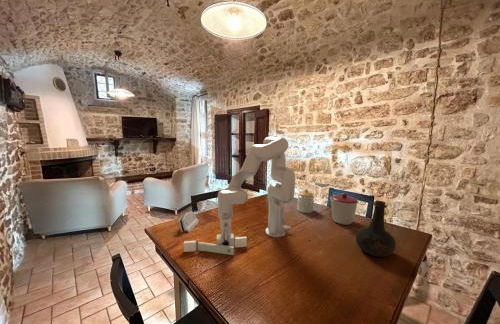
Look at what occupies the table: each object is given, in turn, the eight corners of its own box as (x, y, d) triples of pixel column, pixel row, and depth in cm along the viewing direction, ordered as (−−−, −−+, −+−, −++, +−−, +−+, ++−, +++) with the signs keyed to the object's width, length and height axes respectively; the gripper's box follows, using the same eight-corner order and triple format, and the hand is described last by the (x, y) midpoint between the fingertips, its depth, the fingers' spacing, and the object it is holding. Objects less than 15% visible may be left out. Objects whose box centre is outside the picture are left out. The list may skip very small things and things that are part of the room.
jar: (294, 207, 170) (295, 187, 168) (309, 207, 172) (310, 186, 169) (300, 213, 157) (301, 191, 155) (316, 213, 159) (317, 191, 156)
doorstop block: (233, 243, 112) (233, 233, 112) (234, 248, 108) (234, 238, 107) (217, 244, 111) (216, 234, 110) (217, 249, 106) (216, 239, 105)
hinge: (188, 232, 125) (182, 218, 125) (182, 234, 126) (176, 219, 126) (199, 221, 142) (194, 208, 141) (193, 222, 143) (188, 209, 142)
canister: (361, 223, 142) (364, 194, 139) (347, 230, 132) (350, 199, 128) (338, 214, 156) (340, 188, 153) (323, 220, 146) (325, 191, 143)
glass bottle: (347, 246, 113) (351, 197, 109) (370, 240, 119) (375, 194, 115) (377, 265, 97) (383, 209, 92) (402, 257, 103) (409, 205, 99)
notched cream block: (246, 244, 113) (246, 236, 112) (246, 246, 111) (246, 238, 110) (184, 250, 107) (184, 241, 106) (184, 252, 105) (183, 243, 105)
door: (195, 251, 106) (194, 242, 105) (196, 249, 108) (196, 240, 107) (232, 256, 102) (232, 247, 101) (233, 254, 104) (233, 245, 103)
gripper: (233, 220, 99) (233, 254, 101) (231, 207, 115) (231, 237, 118) (218, 220, 98) (218, 255, 100) (217, 207, 114) (218, 237, 117)
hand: (225, 245), depth 109 cm, fingers closed on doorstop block, 5 cm apart
